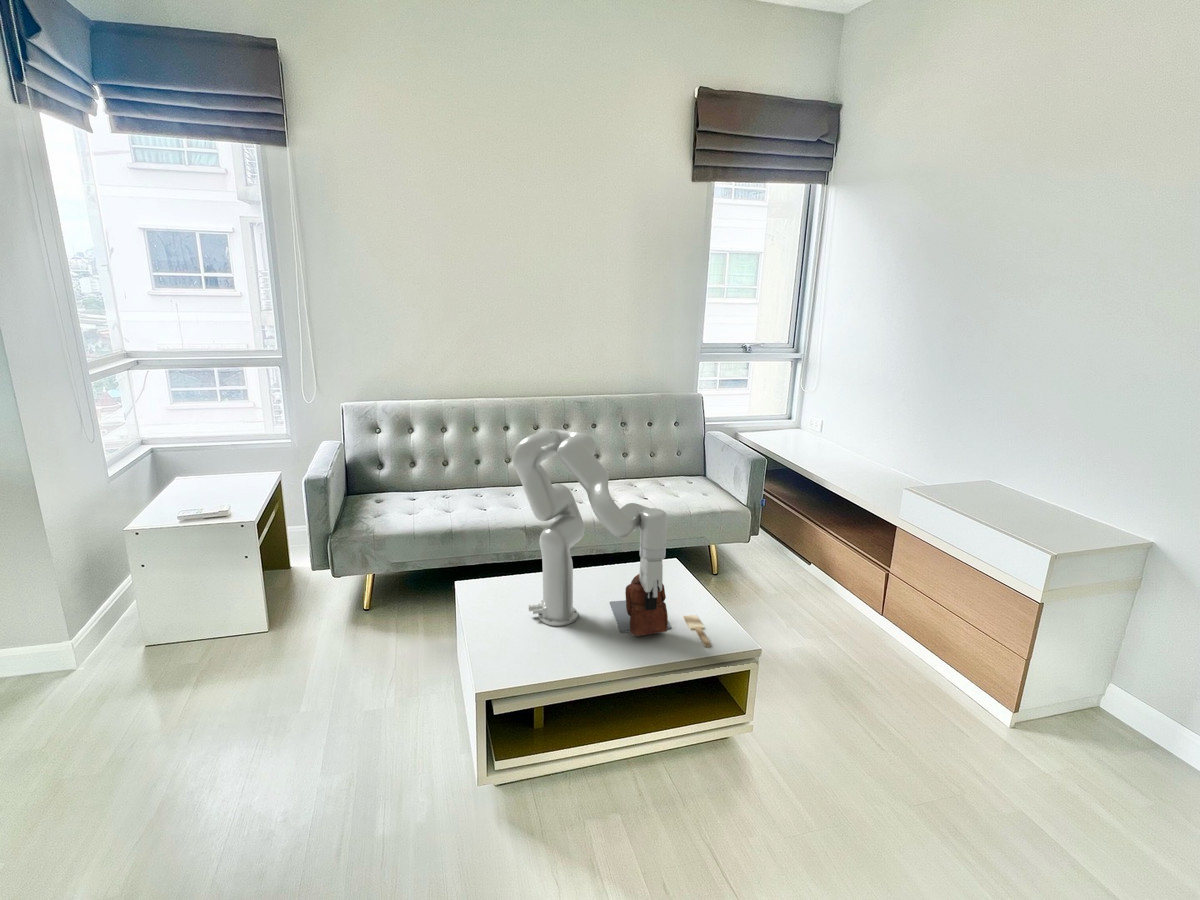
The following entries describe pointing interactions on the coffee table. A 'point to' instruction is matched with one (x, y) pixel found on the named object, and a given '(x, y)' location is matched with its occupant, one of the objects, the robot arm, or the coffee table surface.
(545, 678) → the coffee table surface
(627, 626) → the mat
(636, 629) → the wooden figurine
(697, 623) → the turner
